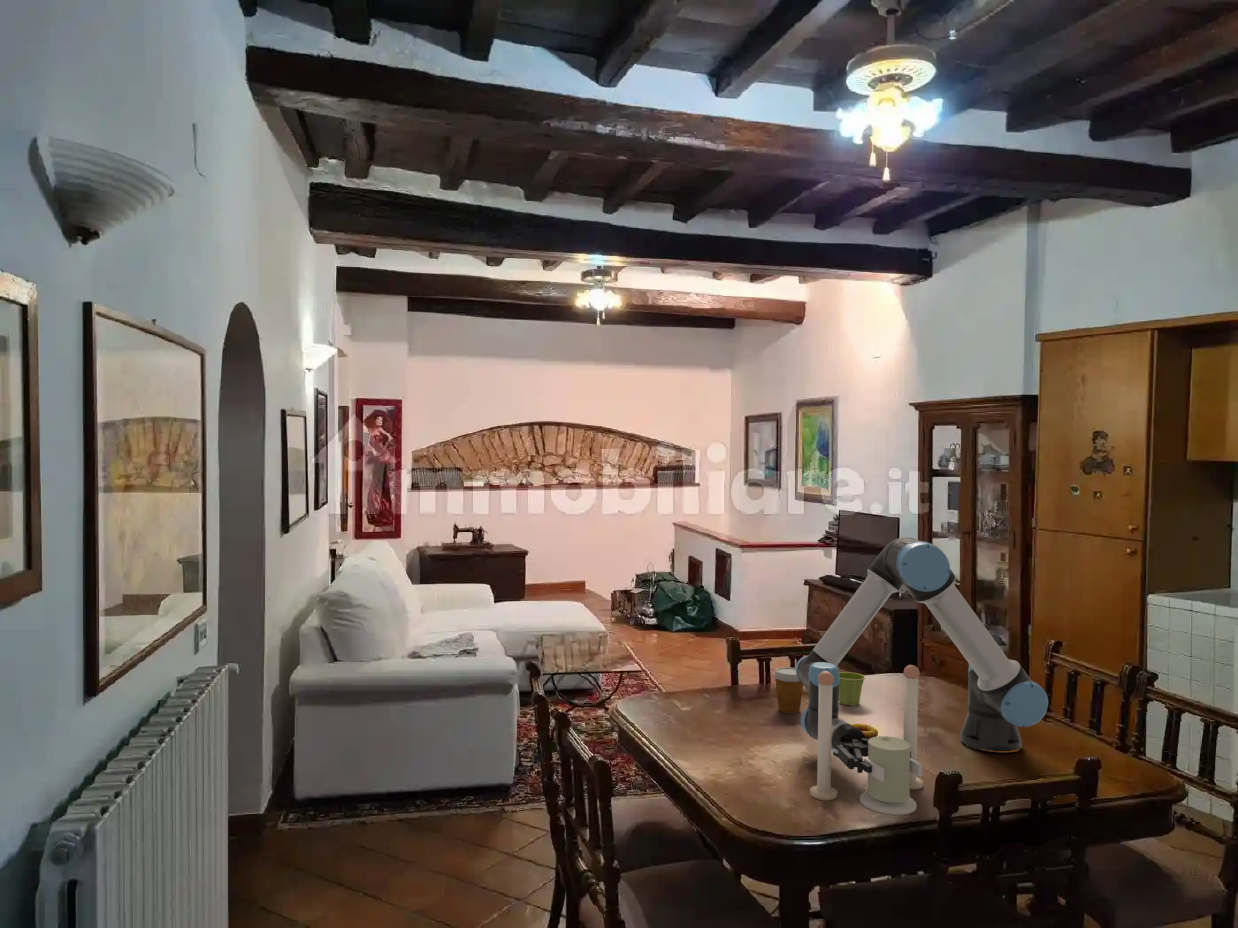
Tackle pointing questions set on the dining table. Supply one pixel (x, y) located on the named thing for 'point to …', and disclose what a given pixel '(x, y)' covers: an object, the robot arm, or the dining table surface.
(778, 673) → the disposable coffee cup
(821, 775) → the gate
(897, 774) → the can
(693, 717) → the dining table surface
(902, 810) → the coaster
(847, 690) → the plant pot
